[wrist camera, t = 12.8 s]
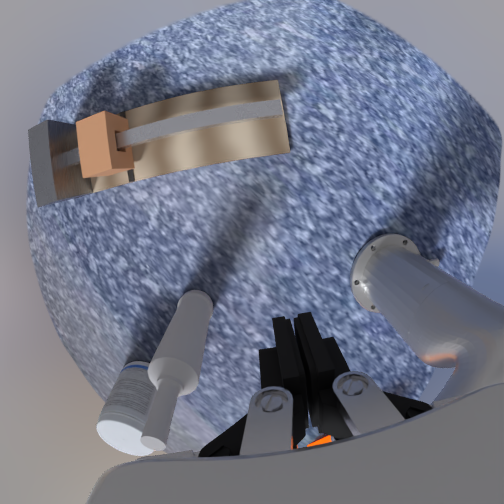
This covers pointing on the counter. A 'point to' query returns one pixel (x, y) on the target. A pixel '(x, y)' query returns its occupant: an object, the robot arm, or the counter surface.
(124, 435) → the supplement tub
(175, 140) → the base board
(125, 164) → the tan notched block
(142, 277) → the counter surface
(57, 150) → the slider rail assembly
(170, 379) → the bottle
